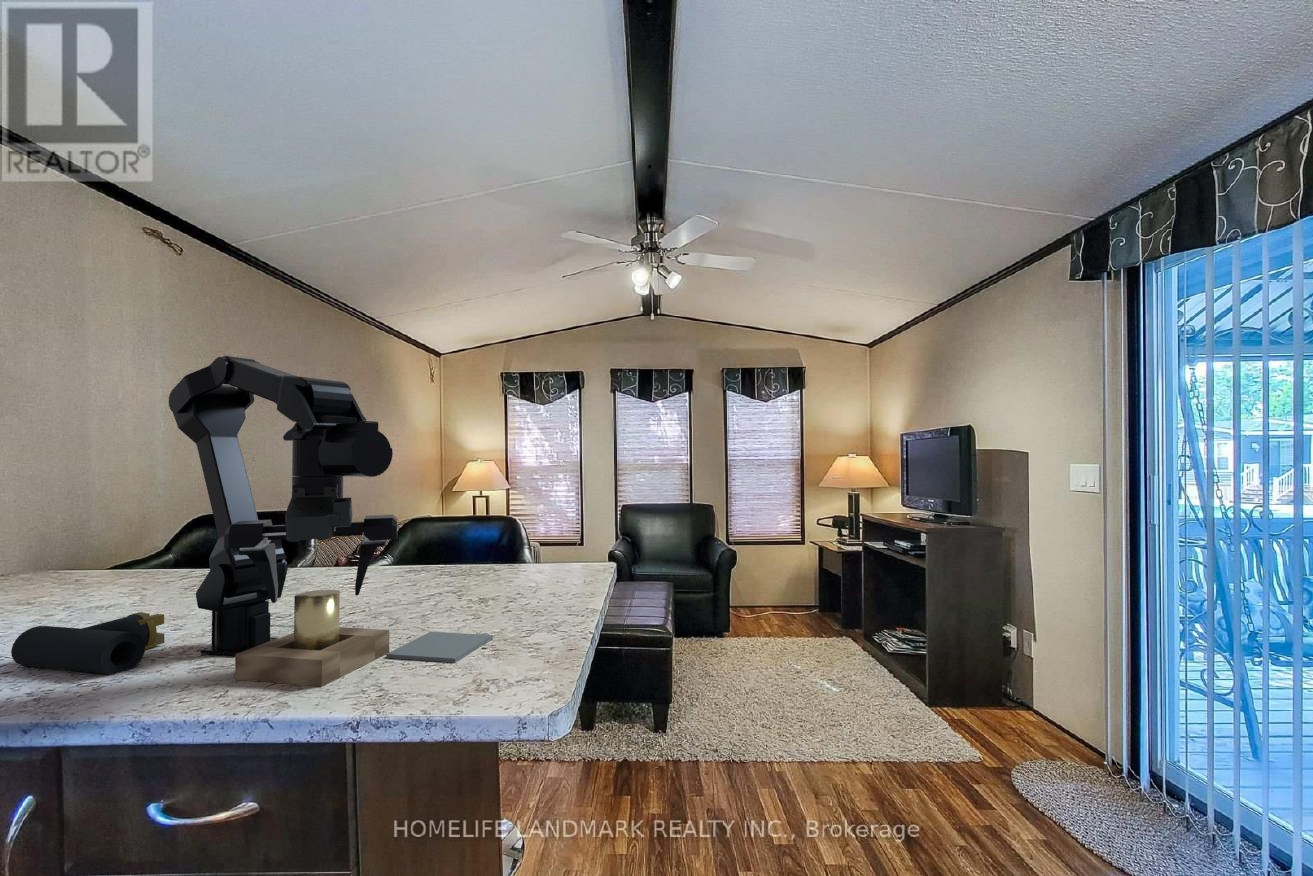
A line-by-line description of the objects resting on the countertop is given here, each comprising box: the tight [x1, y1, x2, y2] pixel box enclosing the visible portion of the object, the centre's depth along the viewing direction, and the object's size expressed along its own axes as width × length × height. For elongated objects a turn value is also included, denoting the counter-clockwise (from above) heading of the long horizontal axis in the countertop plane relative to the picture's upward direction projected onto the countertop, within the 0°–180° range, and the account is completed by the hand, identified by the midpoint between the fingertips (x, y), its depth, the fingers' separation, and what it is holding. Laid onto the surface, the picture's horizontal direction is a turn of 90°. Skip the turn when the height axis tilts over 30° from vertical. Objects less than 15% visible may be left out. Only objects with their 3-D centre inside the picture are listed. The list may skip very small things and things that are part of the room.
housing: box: [234, 626, 390, 687], centre depth 75 cm, size 12×12×3 cm
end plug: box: [293, 589, 341, 651], centre depth 75 cm, size 5×5×9 cm
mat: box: [385, 631, 494, 663], centre depth 81 cm, size 10×10×1 cm
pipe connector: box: [10, 611, 165, 676], centre depth 79 cm, size 12×5×15 cm
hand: (316, 598), depth 75 cm, fingers open, 9 cm apart
